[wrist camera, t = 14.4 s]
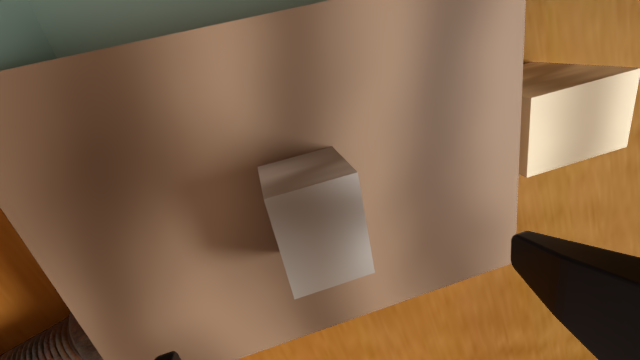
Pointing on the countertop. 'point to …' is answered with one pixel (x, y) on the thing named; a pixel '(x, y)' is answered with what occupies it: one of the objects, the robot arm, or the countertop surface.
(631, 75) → the block
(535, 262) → the robot arm
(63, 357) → the bolt
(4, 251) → the countertop surface
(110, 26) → the grey tray
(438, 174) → the lid
